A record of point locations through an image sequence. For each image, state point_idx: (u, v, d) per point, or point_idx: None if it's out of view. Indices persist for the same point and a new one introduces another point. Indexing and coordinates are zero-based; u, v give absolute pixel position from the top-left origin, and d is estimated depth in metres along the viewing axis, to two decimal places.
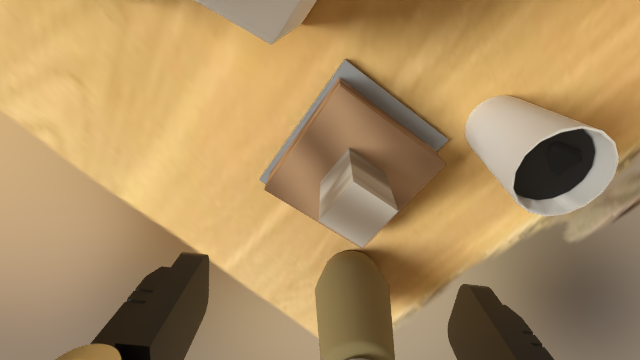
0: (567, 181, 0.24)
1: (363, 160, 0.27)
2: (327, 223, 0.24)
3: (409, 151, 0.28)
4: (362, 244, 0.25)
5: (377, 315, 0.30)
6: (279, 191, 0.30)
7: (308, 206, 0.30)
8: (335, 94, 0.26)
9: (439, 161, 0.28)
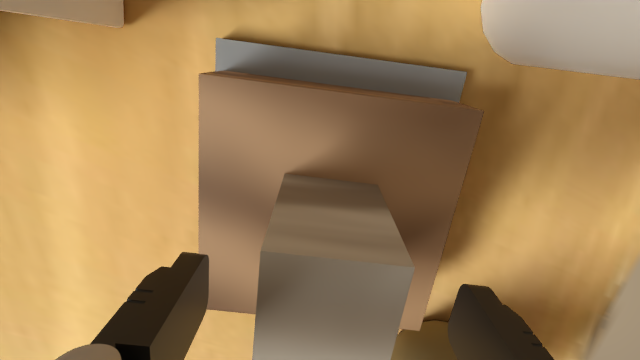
0: None
1: (320, 183, 0.14)
2: None
3: (397, 123, 0.13)
4: None
5: None
6: (223, 300, 0.16)
7: None
8: (201, 93, 0.13)
9: (467, 111, 0.13)
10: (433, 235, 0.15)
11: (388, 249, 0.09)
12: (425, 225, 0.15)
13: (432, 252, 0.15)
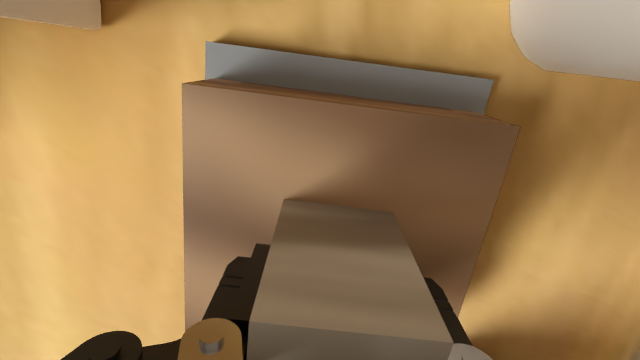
0: None
1: (325, 212, 0.11)
2: None
3: (416, 141, 0.11)
4: None
5: None
6: None
7: None
8: (185, 106, 0.11)
9: (500, 127, 0.11)
10: (457, 269, 0.13)
11: (415, 312, 0.07)
12: (447, 258, 0.13)
13: (455, 289, 0.13)
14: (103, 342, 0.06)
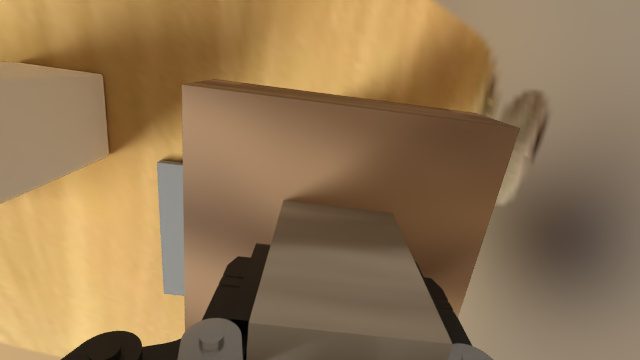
0: None
1: (325, 213, 0.11)
2: None
3: (416, 142, 0.11)
4: None
5: None
6: None
7: None
8: (185, 107, 0.11)
9: (499, 128, 0.11)
10: (456, 270, 0.13)
11: (415, 313, 0.07)
12: (447, 259, 0.13)
13: (455, 289, 0.13)
14: (103, 342, 0.06)
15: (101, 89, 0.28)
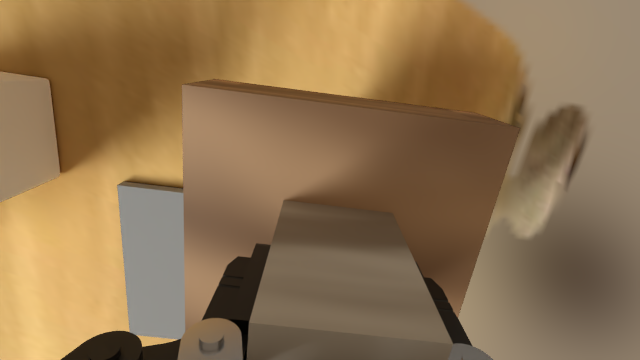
0: None
1: (325, 213, 0.11)
2: None
3: (416, 142, 0.11)
4: None
5: None
6: None
7: None
8: (185, 107, 0.11)
9: (499, 128, 0.11)
10: (456, 270, 0.13)
11: (415, 313, 0.07)
12: (447, 259, 0.13)
13: (455, 289, 0.13)
14: (103, 342, 0.06)
15: (47, 97, 0.23)
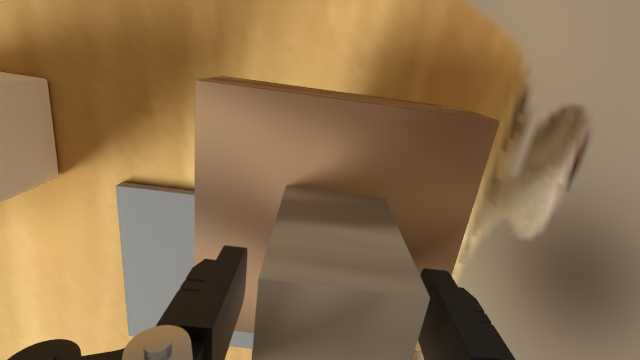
0: None
1: (324, 197, 0.13)
2: None
3: (406, 133, 0.13)
4: None
5: None
6: None
7: None
8: (197, 101, 0.12)
9: (481, 121, 0.12)
10: (443, 252, 0.14)
11: (399, 275, 0.08)
12: (435, 241, 0.14)
13: None
14: (35, 353, 0.06)
15: (45, 97, 0.22)
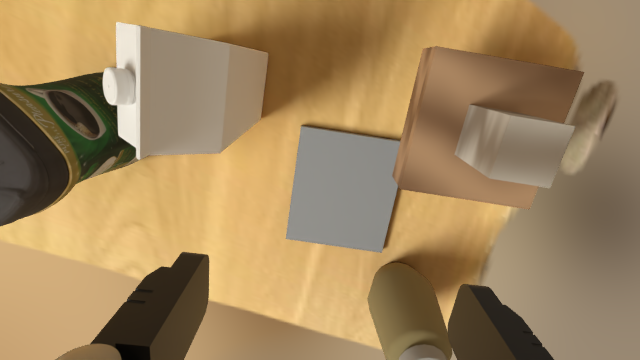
0: None
1: (493, 108, 0.25)
2: (499, 176, 0.21)
3: (536, 77, 0.25)
4: (548, 184, 0.21)
5: (418, 306, 0.34)
6: (416, 184, 0.28)
7: (451, 186, 0.28)
8: (435, 57, 0.24)
9: (574, 72, 0.25)
10: None
11: (558, 122, 0.21)
12: None
13: None
14: None
15: (266, 65, 0.35)
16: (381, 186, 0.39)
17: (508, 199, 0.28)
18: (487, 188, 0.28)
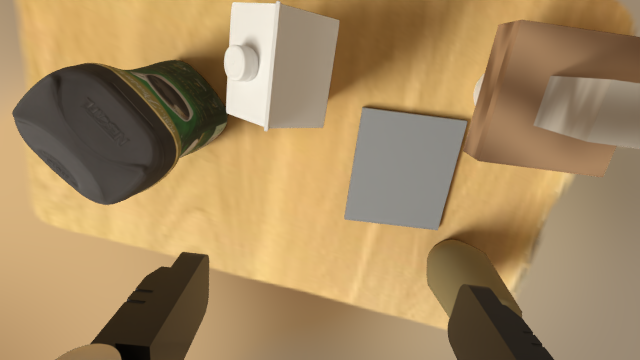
0: None
1: None
2: (597, 139, 0.22)
3: (616, 47, 0.26)
4: None
5: (485, 277, 0.35)
6: (494, 155, 0.29)
7: (529, 157, 0.29)
8: (519, 30, 0.25)
9: None
10: None
11: None
12: None
13: None
14: None
15: None
16: (439, 164, 0.40)
17: (583, 168, 0.29)
18: (563, 157, 0.29)
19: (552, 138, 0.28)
